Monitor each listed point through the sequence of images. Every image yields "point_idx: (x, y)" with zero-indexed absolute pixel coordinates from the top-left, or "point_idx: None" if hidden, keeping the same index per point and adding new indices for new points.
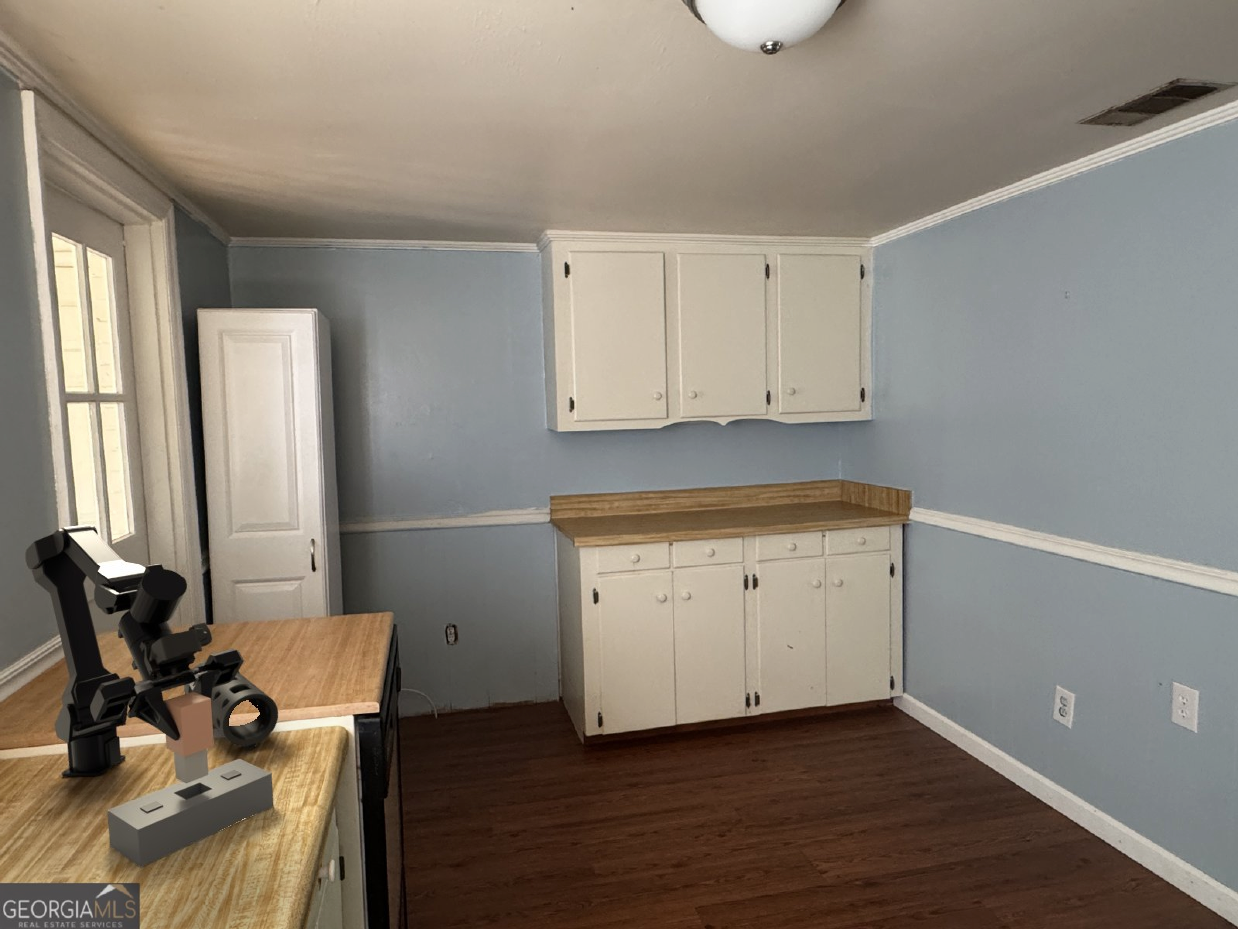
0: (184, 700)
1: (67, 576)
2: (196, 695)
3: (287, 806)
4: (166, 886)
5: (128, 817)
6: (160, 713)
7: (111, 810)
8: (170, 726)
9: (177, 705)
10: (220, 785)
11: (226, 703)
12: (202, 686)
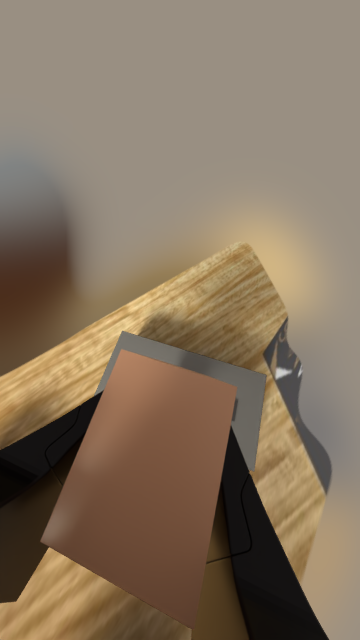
0: (161, 460)
1: None
2: (91, 458)
3: (132, 327)
4: (256, 328)
5: (253, 415)
6: (257, 497)
7: (252, 462)
8: None
9: (221, 434)
10: None
11: None
12: (12, 490)
